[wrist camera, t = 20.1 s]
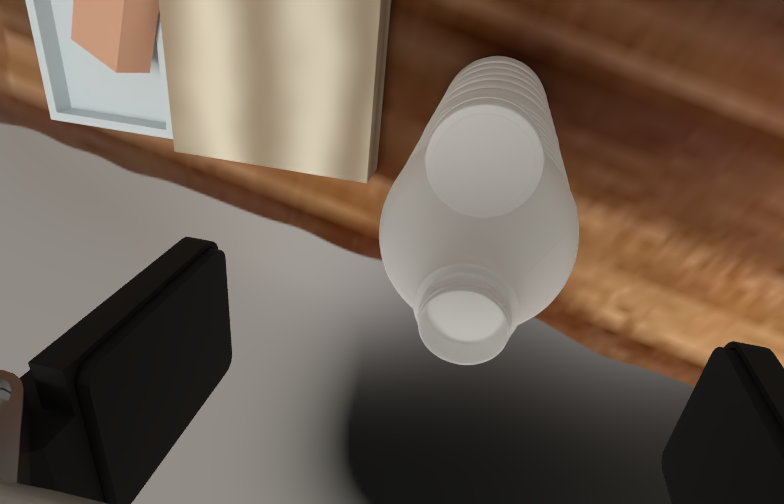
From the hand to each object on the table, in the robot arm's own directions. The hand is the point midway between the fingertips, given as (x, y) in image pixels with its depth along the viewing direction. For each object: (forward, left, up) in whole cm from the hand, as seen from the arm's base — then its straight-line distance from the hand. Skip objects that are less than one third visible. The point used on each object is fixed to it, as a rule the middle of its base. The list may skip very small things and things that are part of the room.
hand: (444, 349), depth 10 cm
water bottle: (0, 0, -28) cm, 28 cm away
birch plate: (+14, 0, -27) cm, 31 cm away
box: (+27, 0, -27) cm, 38 cm away
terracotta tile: (+24, -1, -26) cm, 36 cm away
